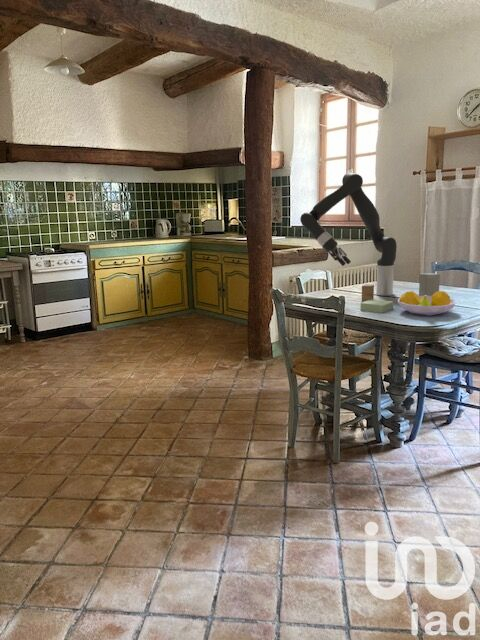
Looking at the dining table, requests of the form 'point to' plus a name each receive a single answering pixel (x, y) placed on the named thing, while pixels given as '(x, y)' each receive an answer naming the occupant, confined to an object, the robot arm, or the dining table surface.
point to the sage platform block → (376, 305)
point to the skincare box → (428, 284)
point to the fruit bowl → (426, 303)
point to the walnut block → (367, 292)
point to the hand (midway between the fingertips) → (347, 263)
